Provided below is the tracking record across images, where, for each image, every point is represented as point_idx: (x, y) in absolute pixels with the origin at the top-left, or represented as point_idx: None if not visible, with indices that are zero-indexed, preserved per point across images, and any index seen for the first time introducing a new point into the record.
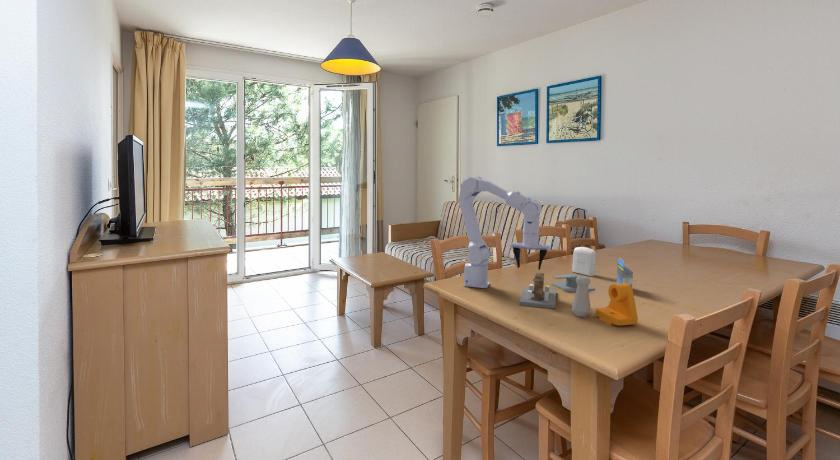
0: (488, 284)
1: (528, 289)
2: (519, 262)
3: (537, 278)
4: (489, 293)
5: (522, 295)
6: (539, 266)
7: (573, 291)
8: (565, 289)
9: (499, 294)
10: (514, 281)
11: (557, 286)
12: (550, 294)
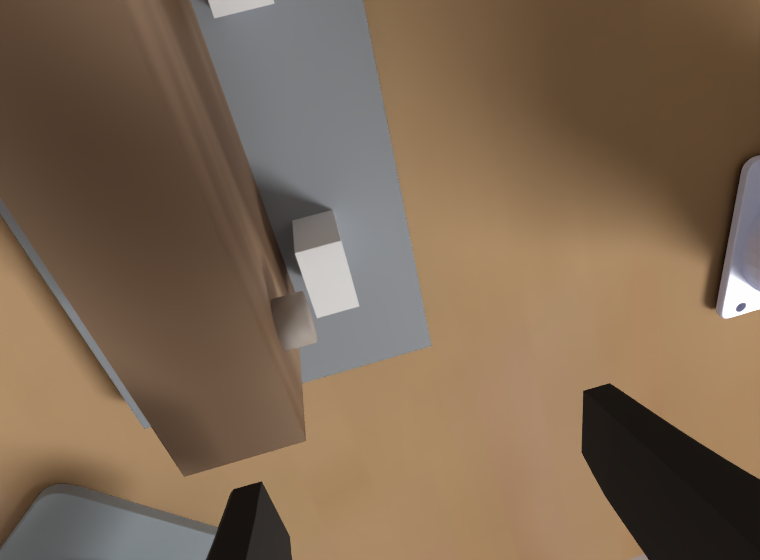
0: (731, 260)
1: (365, 290)
2: (640, 488)
3: (83, 78)
4: (713, 10)
5: (351, 19)
6: (230, 536)
7: (33, 504)
8: (110, 504)
9: (609, 37)
10: (534, 464)
11: (208, 531)
12: None
